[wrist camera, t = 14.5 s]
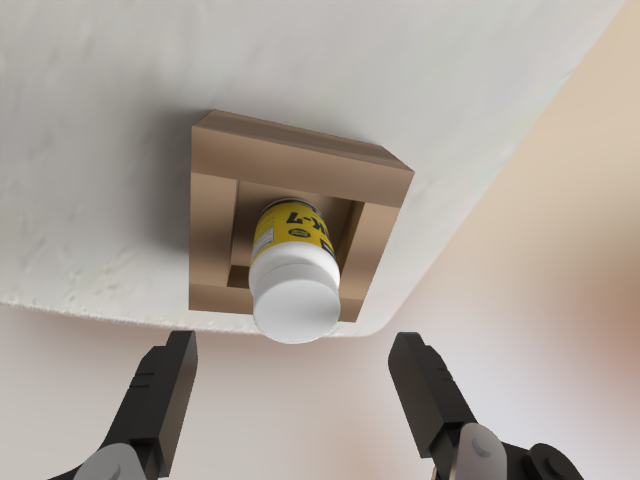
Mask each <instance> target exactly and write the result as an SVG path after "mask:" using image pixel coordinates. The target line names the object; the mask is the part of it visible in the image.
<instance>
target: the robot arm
mask: <svg viewBox="0 0 640 480" xmlns="http://www.w3.org/2000/svg"><path fill="white" fill-rule="evenodd" d="M197 364H198V355H197V345H196V336H195V331H172V332H171V334H170V336H169V338H168V341H167V343H166V346H154V347H153V348H152V349H151V350H150V351H149V352H148V353H147V354H146V355H145V356H144V357H143V358H142V360H141V362H140V364H139V366H138V369H137V371H136V373H135V377H133V379H132V381H131V384H130V386H129V389H128V390H127V392H126V394H125V397H124V399H123V401H122V403H121V405H120V408H119V410H118V412H117V414H116V416H115V418H114V421H113V423H112V425H111V427H110V430H109V431H108V434H107V436H106V438H105V440H104V442H103V443H102V445H101V446H100V447H99V449H98V450H97V451H96V452H95V453H94V454H93V455H91V456H90V457H89V458H88V459H87V460H86V461H85V462H84V463H82V464H81V465H80V466H78V467H76V468H75V469H73V470H71V471H69V472H67V473H64V474H61V475H59V476H56V477H53V478H51V479H48V480H158V478H162V477H169V474H170V470H171V466H172V462H173V459H174V455H175V451H176V447H177V444H178V440H179V436H180V432H181V428H182V425H183V421H184V417H185V413H186V410H187V405H188V402H189V398H190V394H191V391H192V386H193V383H194V379H195V375H196V370H197ZM388 366H389V371H390V374H391V376H392V379H393V382H394V385H395V388H396V390H397V393H398V396H399V399H400V401H401V404H402V407H403V409H404V412H405V415H406V418H407V421H408V423H409V426H410V429H411V432H412V434H413V437H414V440H415V442H416V446H417V448H418V451H419V454H420V457H421V458H431V457H432V458H433V461H434V464H435V467H434V469H433V474H432V479H431V480H584V479H583V478H582V476H581V475H580V473H579V472H578V471H577V469H576V468H575V466H574V465H573V464H572V462H570V460H569V459H568V458H567V457H566V456H565V455H564V454H562V453H561V452H560V451H558V450H557V449H556V448H554V447H552V446H550V445H547V444H542V443H538V444H535V445H534V446H533V447H532V448H531V449H530V450H527V449H523V448H520V447H517V446H514V445H510V444H507V443H504V442H501V441H500V440H499V439H498V438H497V437H496V435H495V434H494V433H493V432H492V431H490V430H489V429H488V428H486V427H484V426H482V425H480V424H479V423H478V422H477V420H476V419H475V418H474V415H473V413H472V412H471V410H470V408H469V406H468V404H467V403H466V401H465V399H464V397H463V395H462V394H461V392H460V390H459V388H458V386H457V385H456V383H455V381H453V378H452V376H451V374H450V372H449V371H448V370H447V367H446V365H445V363H444V361H443V360H442V358H441V356H440V355H439V354H438V353H437V352H436V351H435V350H434V349H433V348H432V347H431V346H425V344H424V342H423V340H422V338H421V336H420V335H419V334H418V333H417V332H399V333H398V334H397V336H396V338H395V341H394V344H393V346H392V349H391V351H390V354H389V357H388Z"/></svg>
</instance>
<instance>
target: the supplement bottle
mask: <svg viewBox="0 0 640 480" xmlns="http://www.w3.org/2000/svg"><path fill="white" fill-rule="evenodd" d="M339 282H340V274H339V269H338V265H337V261H336V258H335V255H334V251H333V248H332V245H331V241H330V238H329V235H328V231H327V228H326V225H325V221H324V219H323V216H322V215H321V213H320V211H319V210H318V209H317V208H316V207H315V206H313V205H312V204H311V203H309V202H307V201H304V200H301V199H297V198H284V199H280V200H277V201H275V202H273V203H271V204H269V205H268V206H267V207H266V208H265V209H264V210H263V211H262V213H261V214H260V216H259V218H258V220H257V224H256V231H255V237H254V243H253V250H252V257H251V264H250V271H249V287H250V291H251V293H252V295H253V297H254V298H253V300H254V303H253V318H254V321H255V324H256V326H257V328H258V329H259V330H260V331H261V332H262V333H263V334H264V335H265V336H267V337H269V338H270V339H273V340H275V341H278V342H282V343H288V344H299V343H305V342H309V341H313V340H316V339H318V338H320V337H322V336H323V335H325V334H326V333H328V332H329V331H330V330H331V329H332V328H333V327H334V326H335V324H336V323H337V321H338V319H339V316H340V301H339V295H338V287H339Z"/></svg>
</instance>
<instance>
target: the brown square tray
mask: <svg viewBox="0 0 640 480" xmlns="http://www.w3.org/2000/svg"><path fill="white" fill-rule="evenodd" d="M414 174H415V172H414V171H413V170H412V169H410V168H409V167H408V166H407V165H405V164H404V163H403V162H401V161H400V160H399V159H398V158H396V157H395V156H394V155H392V154H391V153H390V152H389V151H387V150H386V149H385V148H383V147H382V146H377V145H373V144H368V143H364V142H359V141H355V140H350V139H346V138H341V137H337V136H332V135H328V134H323V133H319V132H314V131H310V130H305V129H301V128H296V127H292V126H287V125H283V124H278V123H274V122H269V121H265V120H260V119H256V118H251V117H247V116H242V115H238V114H233V113H229V112H224V111H220V110H213V111H212V112H210V113H209V114H208V115H206V116H205V117H204V118H202V119H201V120H199V121H198V122H197V123H195V124H194V125H192V131H191V193H190V255H189V310H197V311H210V312H223V313H237V314H250V315H253V303H254V300H253V298H254V297H253V295H252V293H251V291H250V287H249V271H250V264H251V257H252V250H253V243H254V237H255V231H256V224H257V220H258V218H259V216H260V214H261V213H262V211H263V210H264V209H265V208H266V207H267V206H268V205H269V204H271V203H273V202H275V201H277V200H280V199H284V198H297V199H301V200H304V201H307V202H309V203H311V204H312V205H313V206H315V207H316V208H317V209H318V210H319V211H320V213H321V215H322V216H323V219H324V221H325V225H326V228H327V231H328V235H329V238H330V241H331V245H332V248H333V251H334V255H335V258H336V261H337V265H338V269H339V274H340V282H339V287H338V295H339V301H340V316H339V319H338V321H343V322H356V320H357V317H358V315H359V312H360V310H361V307H362V305H363V302H364V300H365V297H366V295H367V292H368V289H369V287H370V284H371V282H372V279H373V277H374V274H375V272H376V269H377V267H378V264H379V262H380V259H381V257H382V254H383V252H384V249H385V247H386V244H387V242H388V239H389V237H390V234H391V232H392V229H393V227H394V224H395V221H396V219H397V216H398V214H399V211H400V209H401V206H402V204H403V201H404V199H405V196H406V194H407V191H408V189H409V186H410V184H411V181H412V179H413V176H414Z"/></svg>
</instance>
